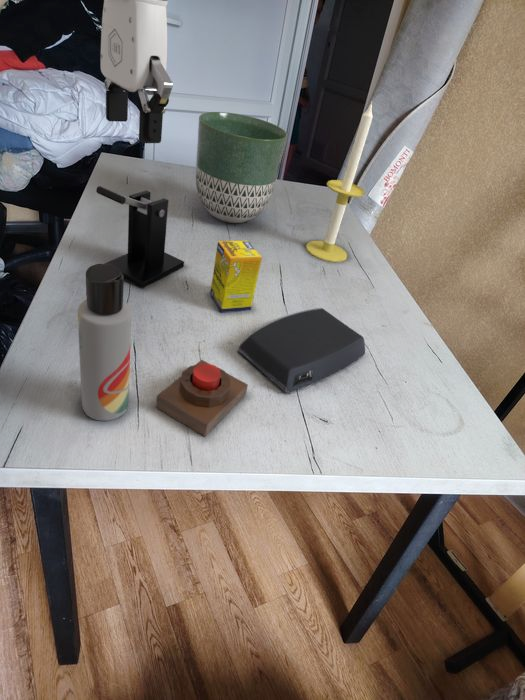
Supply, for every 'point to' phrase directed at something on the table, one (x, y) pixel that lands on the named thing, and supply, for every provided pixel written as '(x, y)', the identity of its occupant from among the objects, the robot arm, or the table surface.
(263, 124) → the planter
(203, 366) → the button
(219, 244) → the supplement box
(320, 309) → the hard drive
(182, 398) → the button block
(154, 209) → the lever bracket
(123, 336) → the lotion bottle
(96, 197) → the table surface
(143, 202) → the lever handle
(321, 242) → the candle
